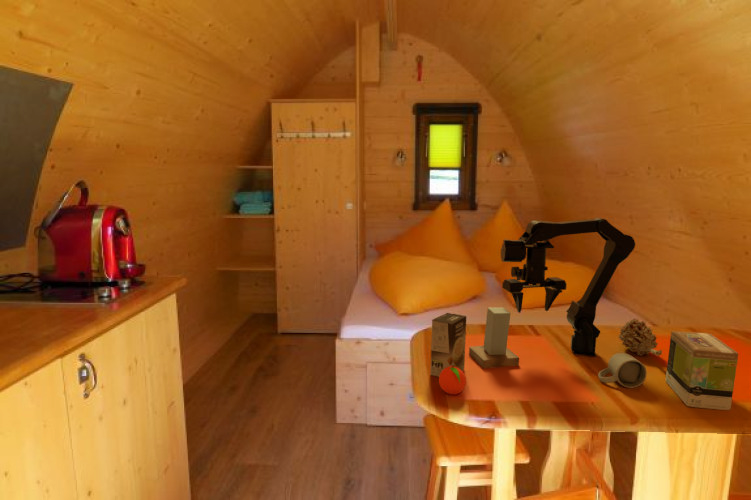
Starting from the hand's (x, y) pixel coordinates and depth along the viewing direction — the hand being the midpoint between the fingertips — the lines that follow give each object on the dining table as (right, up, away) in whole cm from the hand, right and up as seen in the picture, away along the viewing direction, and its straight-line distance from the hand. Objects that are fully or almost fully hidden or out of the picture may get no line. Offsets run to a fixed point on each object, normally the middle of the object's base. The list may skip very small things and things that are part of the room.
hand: (532, 311), depth 155 cm
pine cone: (+33, -14, -2) cm, 36 cm away
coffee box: (-28, -16, -13) cm, 35 cm away
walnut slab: (-13, -15, -4) cm, 20 cm away
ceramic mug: (+18, -17, -19) cm, 31 cm away
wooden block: (-13, -11, -5) cm, 18 cm away
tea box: (+33, -18, -27) cm, 47 cm away
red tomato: (-29, -18, -27) cm, 43 cm away
